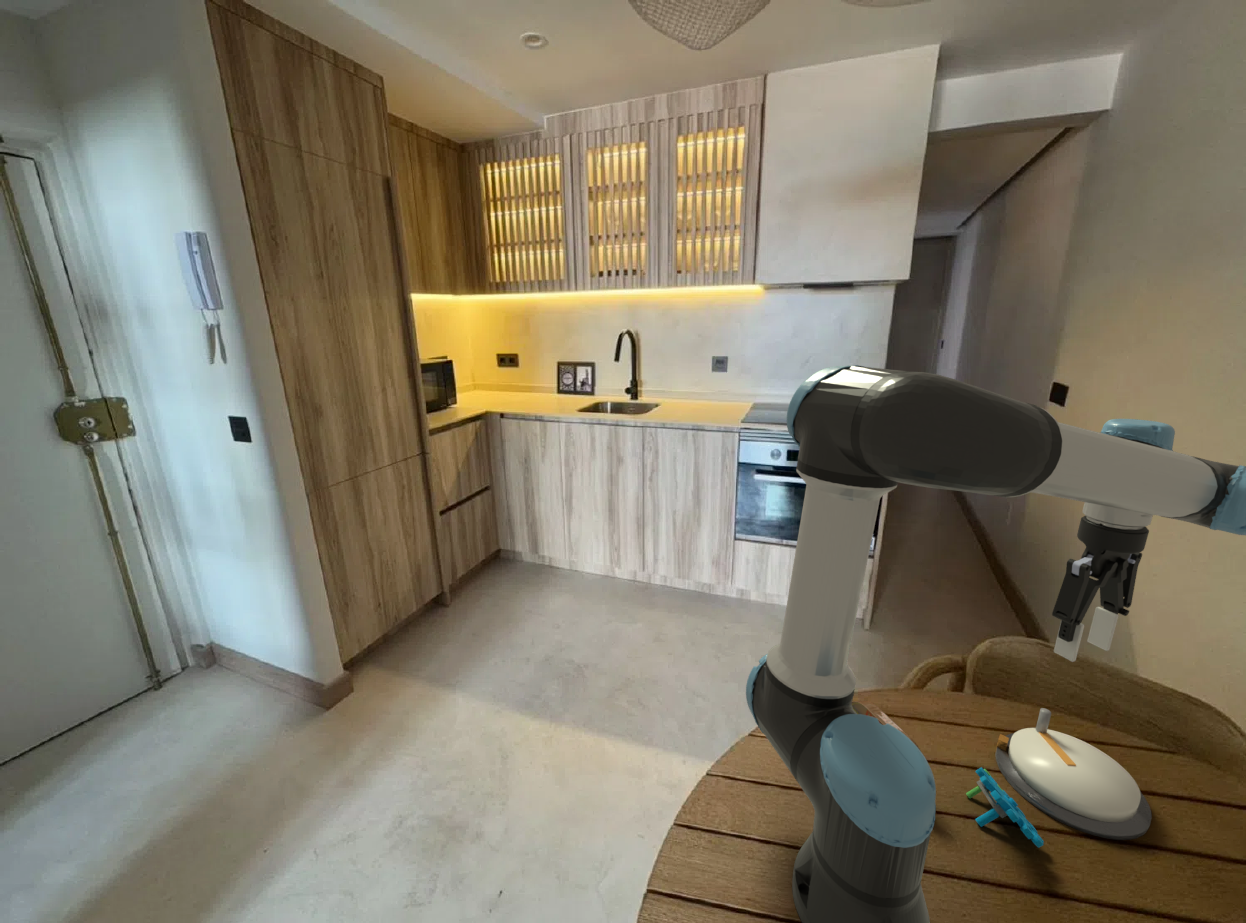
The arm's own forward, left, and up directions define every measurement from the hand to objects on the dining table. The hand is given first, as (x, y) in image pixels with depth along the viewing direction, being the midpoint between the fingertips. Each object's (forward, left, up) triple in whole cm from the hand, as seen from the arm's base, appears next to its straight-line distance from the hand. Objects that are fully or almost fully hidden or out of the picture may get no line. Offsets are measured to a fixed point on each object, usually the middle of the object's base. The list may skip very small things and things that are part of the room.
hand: (1081, 650), depth 81 cm
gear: (-4, -26, -17) cm, 31 cm away
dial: (+2, -11, -16) cm, 19 cm away
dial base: (+2, -11, -17) cm, 20 cm away
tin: (-19, -28, -17) cm, 38 cm away
